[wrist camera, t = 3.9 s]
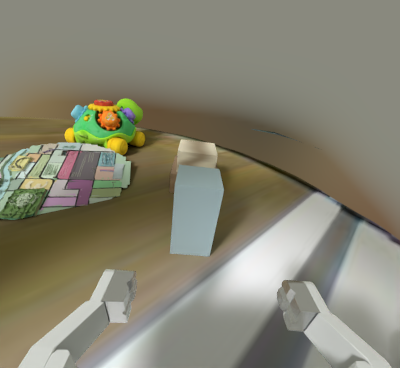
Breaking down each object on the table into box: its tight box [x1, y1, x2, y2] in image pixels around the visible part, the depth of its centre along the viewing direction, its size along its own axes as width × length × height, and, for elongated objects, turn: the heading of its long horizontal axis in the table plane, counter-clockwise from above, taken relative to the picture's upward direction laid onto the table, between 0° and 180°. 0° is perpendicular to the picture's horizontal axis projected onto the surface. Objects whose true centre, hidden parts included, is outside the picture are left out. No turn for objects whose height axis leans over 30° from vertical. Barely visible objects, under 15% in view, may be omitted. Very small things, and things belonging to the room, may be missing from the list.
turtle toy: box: [65, 99, 145, 155], centre depth 52 cm, size 17×23×12 cm
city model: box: [0, 143, 131, 220], centre depth 34 cm, size 25×24×6 cm
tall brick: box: [170, 165, 224, 256], centre depth 23 cm, size 5×5×10 cm
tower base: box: [169, 140, 217, 193], centre depth 38 cm, size 9×9×8 cm
